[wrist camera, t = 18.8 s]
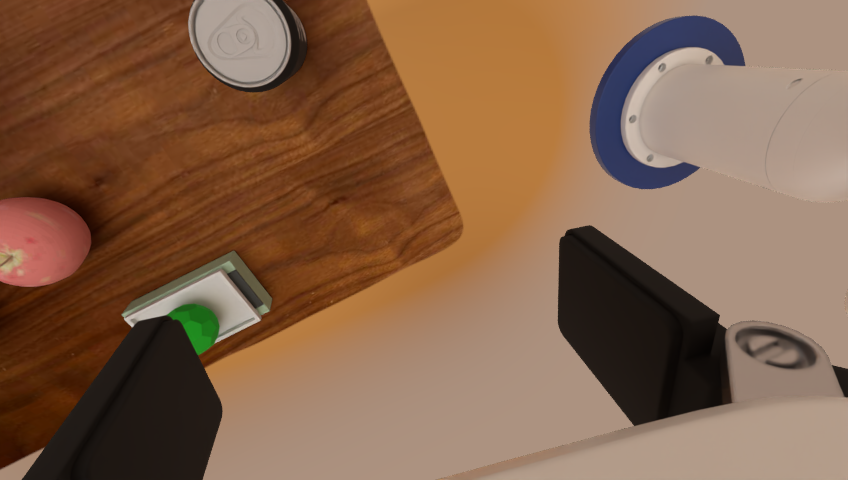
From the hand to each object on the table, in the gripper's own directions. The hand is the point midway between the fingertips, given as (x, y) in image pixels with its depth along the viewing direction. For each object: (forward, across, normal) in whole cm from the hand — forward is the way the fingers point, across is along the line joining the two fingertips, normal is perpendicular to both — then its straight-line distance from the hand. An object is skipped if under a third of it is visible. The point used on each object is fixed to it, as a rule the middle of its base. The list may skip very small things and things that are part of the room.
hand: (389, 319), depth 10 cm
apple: (+33, +28, +5) cm, 43 cm away
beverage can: (+33, +6, -8) cm, 34 cm away
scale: (+32, +19, +16) cm, 41 cm away
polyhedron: (+30, +19, +16) cm, 39 cm away
